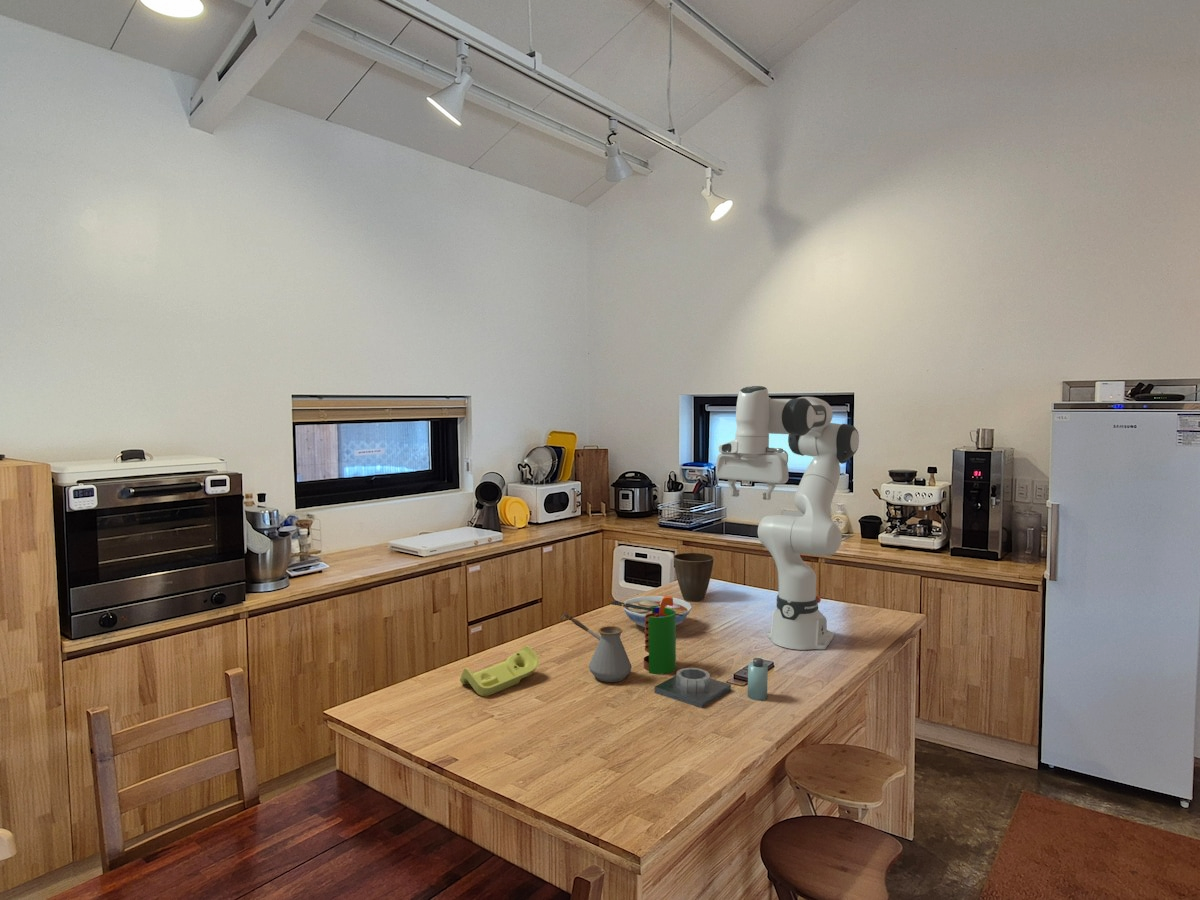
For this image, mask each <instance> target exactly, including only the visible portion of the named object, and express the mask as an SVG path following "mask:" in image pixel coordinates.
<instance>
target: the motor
mask: <svg viewBox="0 0 1200 900" xmlns="http://www.w3.org/2000/svg"><path fill="white" fill-rule="evenodd" d="M673 598H674V597H673V596H669V595H665V597H663V599H662V601H661V605H660V607H652V613H651V614H647V615H645V627H644V633H645V634H644V639H645V640H644V644H645V645H644V651H645V652H647V653H648V654H647V655H646V656H645V657H643V669H645V671H647V672H648V674H650V675H664V674H670V673H672V672H674V671H675V670H676V669H677V656H676V655H677V652H676V651H677V645H676V643H677V642H676V641H677V637H676V636H677V635H676V629H677V628H676V626H677V625H676V612H675V611H674V610H673V609H670V608H665V606H667V605H669V606H673Z"/></svg>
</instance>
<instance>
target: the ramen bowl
mask: <svg viewBox="0 0 1200 900" xmlns="http://www.w3.org/2000/svg"><path fill="white" fill-rule="evenodd" d="M665 596H666V595H665ZM665 596H662V595H643V596H637V597H636V596H635V597H633V598H630V599H626V600H625V601H618V600H614V601H611V605H613V606H620V607H622V609H623V611H624V613H625V614H626V616H627V617H628V618H629V620H630V621H631V622H633V623H635V624H637V625H638V626H640V627H644V628H645V615H647V614H651V613H652V607H660V605H661V601H662V599H663V597H665ZM665 608H670V609H673V610H674V611H675V612H676V626H678V625H680V624H682V622H683V621H684V620H685V619H686V618H687V616H688V615H689V613H690V612H691V611H692V605H691V603H690V602H689V601H686V600H684V599H680V598H678V597H677V598H676V597H673V606H669V605H667V606H665Z"/></svg>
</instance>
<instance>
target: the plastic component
mask: <svg viewBox="0 0 1200 900" xmlns="http://www.w3.org/2000/svg"><path fill="white" fill-rule="evenodd" d="M539 664H540V659H539V656H538V654H537V652H536V651H535V650H534V649H532V647H531V646H530V645H524V646H522V648H521V649H519V651H517V652H515V653H513V654H511V655H509V656H508V657H507V658H506V660H504V661H501V662H499V663H497V664H494V665H492V666H490V667H486V668H484V669H482V670H481V669H480V670H479V671H476V672H472V670H470V668H468V667H466V668H464V669H463V671H462V674H461V676H460V678H459V681H460V683H461V684H462V685H469V684H470V686H471V687H472V688H473V690H474V691H475V692H476V694H478V695H479V696H481V697H487V696H491V695H494V694H496V693H499V692H501V691H503V690H506V689H508V688H510V687H513V686H515V685H517V684H519V683H520V681H521V680H522V679H524V678H526V677H528V676H530V675H531V674H532V673H533V672H535V670H537V668H538V666H539Z"/></svg>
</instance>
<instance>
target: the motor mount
mask: <svg viewBox="0 0 1200 900" xmlns="http://www.w3.org/2000/svg"><path fill="white" fill-rule="evenodd" d="M710 677H711V675H710V673H709V672H708V671H707V670H705V669H702V668H698V667H697V668H696V667H685V668H681V669H679V670H676V674H675V676H673V677H671V678H669V679H667V680H665V681H663V682H661V683H659V684H658V685H655V686H654V694H658V695H661V696H665V697H666V698H671V699H673V700H677V701H679V702H683V703H686V704H689V705H692V706H694V707H698V708H701V709H702V708H704V707H705V706H707V705H709V704H711V703H712V702H714V701H716V700H717V699H719V698H721V697H722V696H724V695H725V694H727V693H729V692H730V691H731V689H732V688H731V687H732V684H731V683H727V682H725V681H720V680H717V679H714V678H710Z"/></svg>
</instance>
